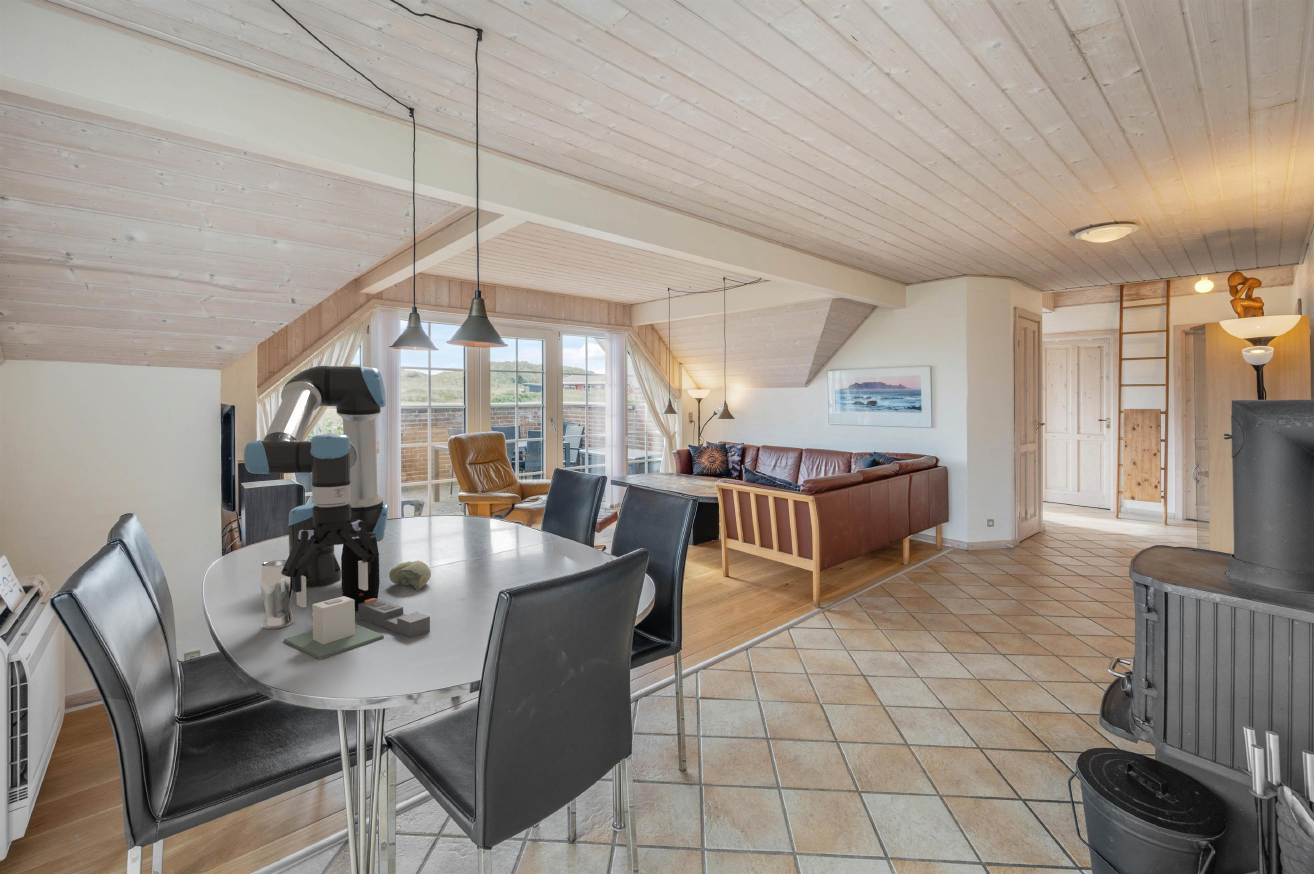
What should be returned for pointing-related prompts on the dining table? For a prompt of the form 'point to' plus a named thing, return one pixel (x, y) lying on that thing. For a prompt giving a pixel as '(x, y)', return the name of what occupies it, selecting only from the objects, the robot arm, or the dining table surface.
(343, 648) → the mat
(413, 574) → the seashell
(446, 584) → the dining table surface
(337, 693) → the dining table surface
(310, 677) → the dining table surface
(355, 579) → the portable speaker
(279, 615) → the beer glass
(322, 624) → the block
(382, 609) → the power strip
